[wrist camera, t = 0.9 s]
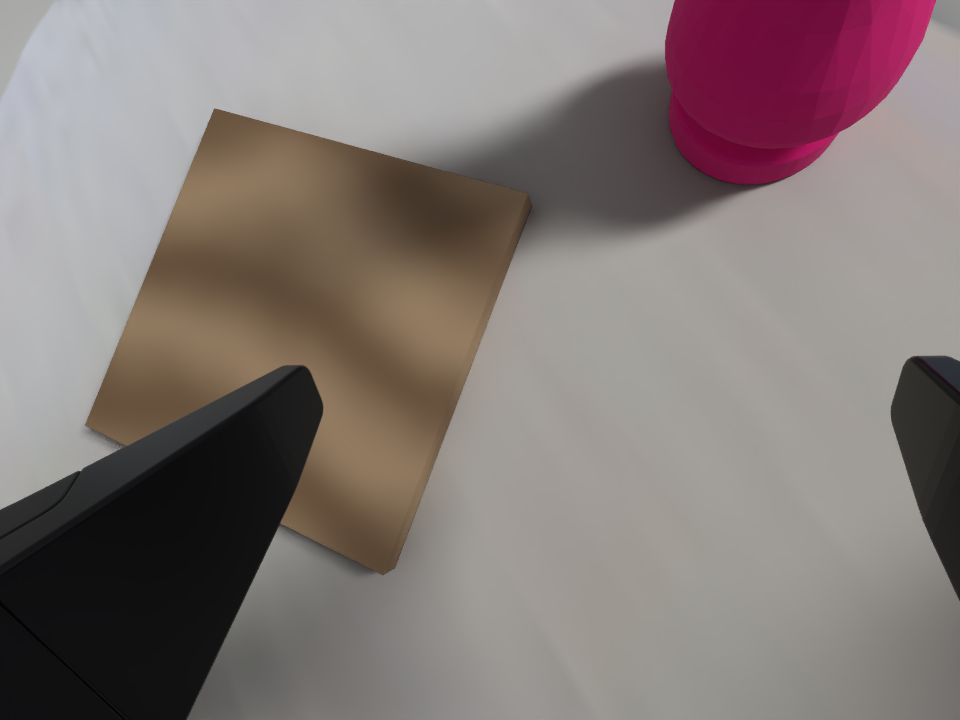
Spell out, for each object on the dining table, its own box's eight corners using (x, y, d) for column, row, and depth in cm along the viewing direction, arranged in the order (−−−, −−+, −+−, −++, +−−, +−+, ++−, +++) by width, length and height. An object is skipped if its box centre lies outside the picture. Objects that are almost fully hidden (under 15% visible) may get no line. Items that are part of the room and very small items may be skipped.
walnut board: (394, 568, 23) (382, 575, 21) (107, 425, 27) (85, 425, 26) (531, 205, 23) (527, 193, 22) (231, 122, 27) (214, 108, 26)
